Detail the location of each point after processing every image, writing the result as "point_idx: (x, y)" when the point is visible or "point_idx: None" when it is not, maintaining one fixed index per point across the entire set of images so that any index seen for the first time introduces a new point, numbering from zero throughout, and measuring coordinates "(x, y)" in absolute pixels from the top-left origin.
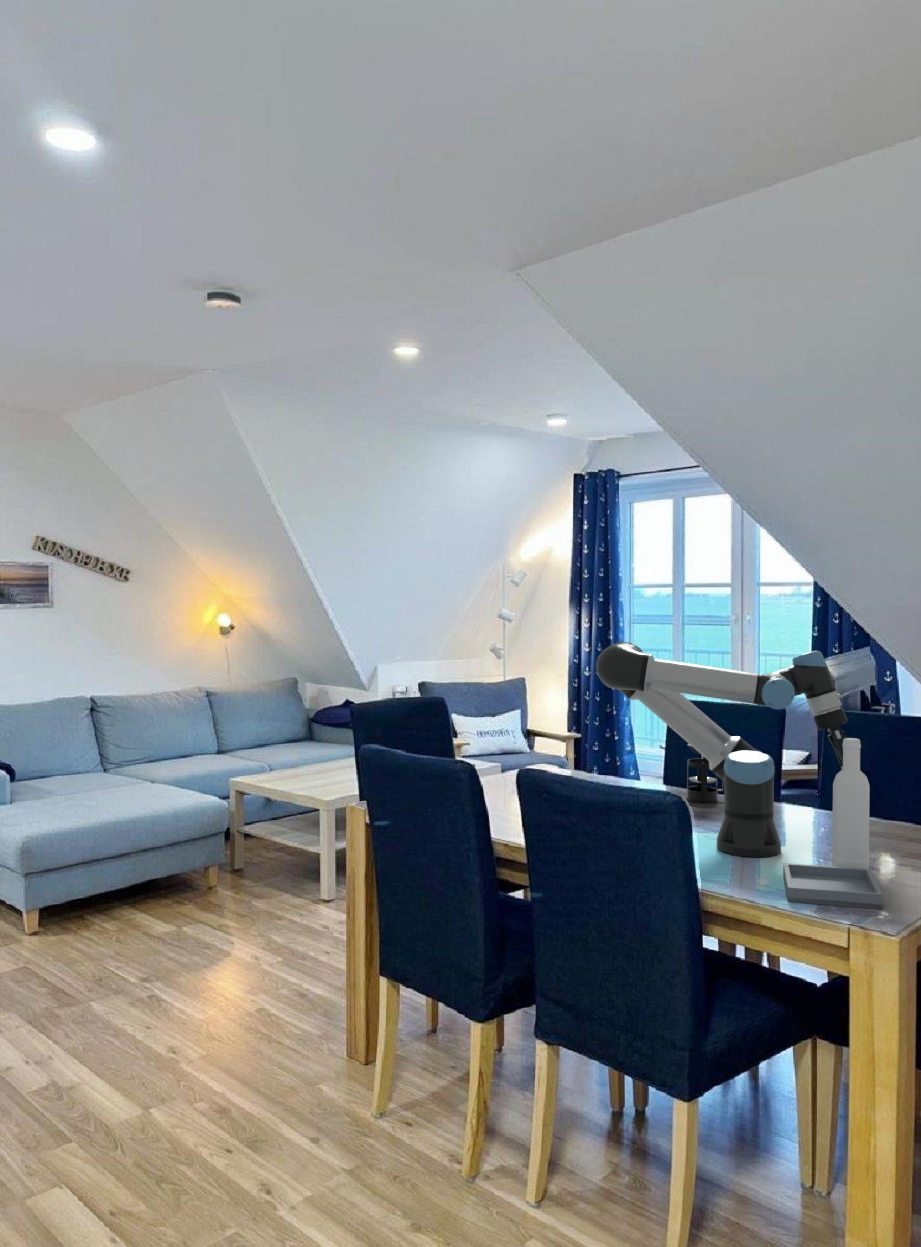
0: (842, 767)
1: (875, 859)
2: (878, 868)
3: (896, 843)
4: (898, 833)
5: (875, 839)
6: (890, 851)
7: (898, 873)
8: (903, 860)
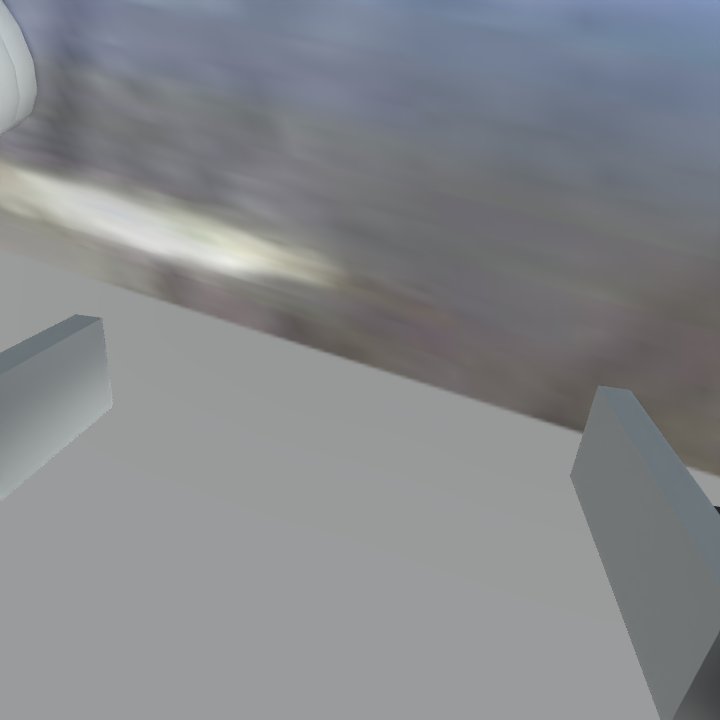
0: (714, 615)
1: (201, 204)
2: (70, 179)
3: (500, 362)
4: (692, 427)
5: (575, 306)
6: (356, 300)
7: (51, 233)
8: (234, 302)
